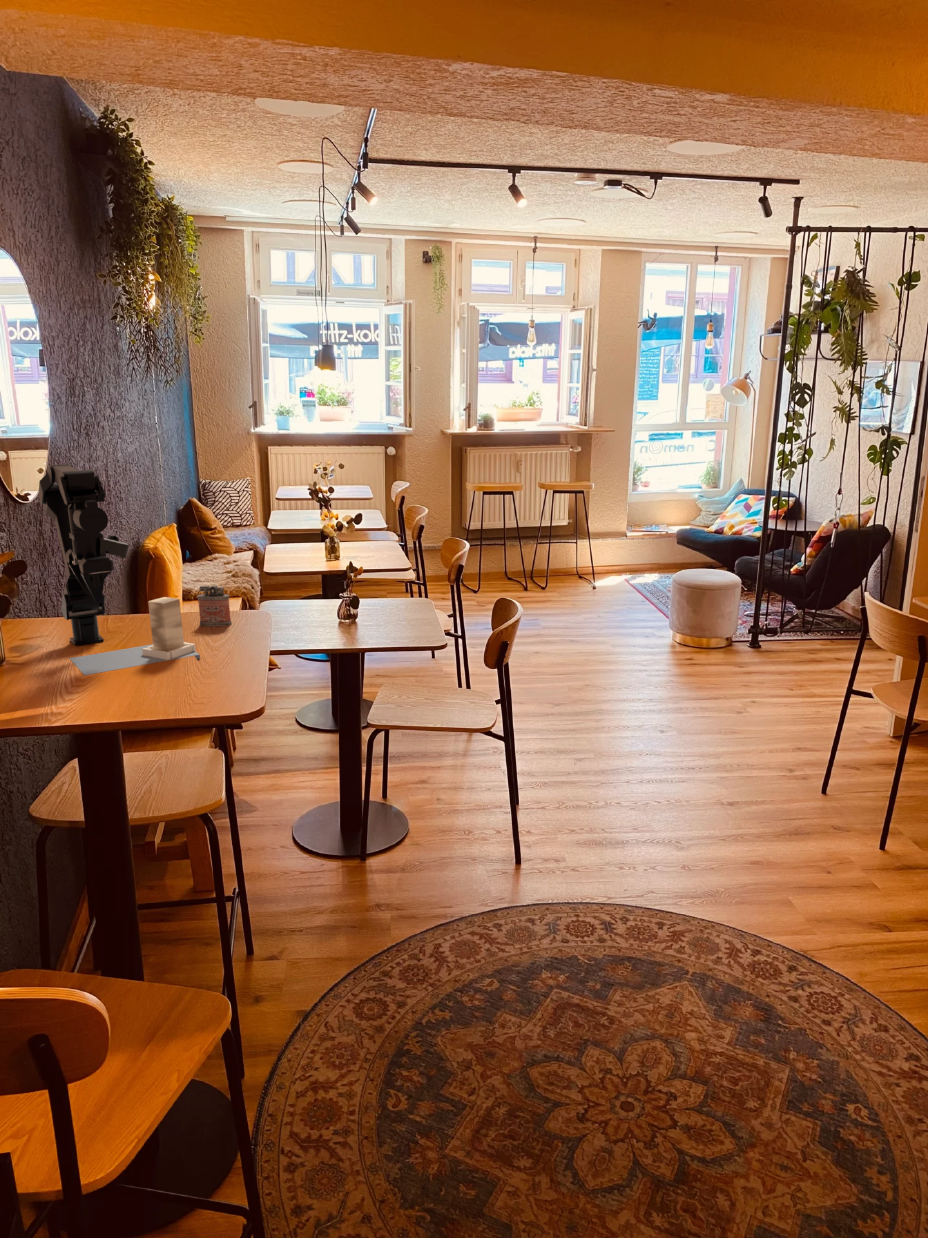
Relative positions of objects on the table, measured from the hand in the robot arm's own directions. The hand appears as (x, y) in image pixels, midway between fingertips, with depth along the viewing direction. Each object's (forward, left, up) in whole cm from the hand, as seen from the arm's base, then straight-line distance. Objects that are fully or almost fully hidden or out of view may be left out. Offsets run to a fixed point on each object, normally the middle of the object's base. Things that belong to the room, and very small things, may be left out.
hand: (93, 598), depth 200 cm
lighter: (-10, +30, -13) cm, 34 cm away
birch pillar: (+12, +12, -12) cm, 21 cm away
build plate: (+10, +5, -13) cm, 17 cm away
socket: (+12, +12, -13) cm, 21 cm away
